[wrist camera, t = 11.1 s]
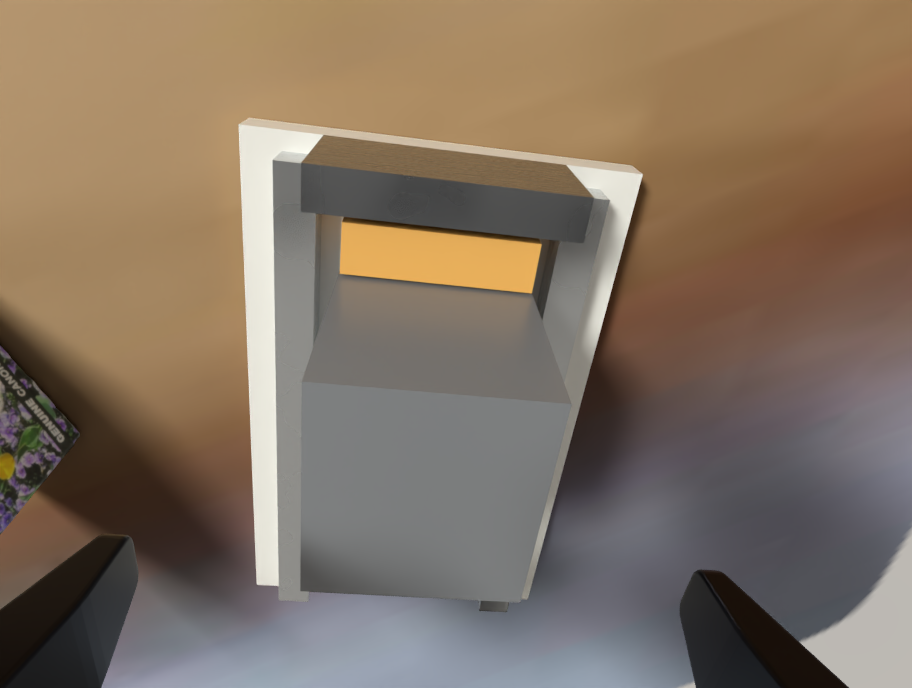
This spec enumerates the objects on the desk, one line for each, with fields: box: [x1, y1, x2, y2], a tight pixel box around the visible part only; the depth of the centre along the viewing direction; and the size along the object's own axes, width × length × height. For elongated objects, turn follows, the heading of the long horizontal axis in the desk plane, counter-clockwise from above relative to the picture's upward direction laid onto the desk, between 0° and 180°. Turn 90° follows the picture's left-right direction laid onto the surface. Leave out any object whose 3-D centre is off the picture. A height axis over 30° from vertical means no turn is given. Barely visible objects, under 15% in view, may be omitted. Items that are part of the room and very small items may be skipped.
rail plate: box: [239, 118, 643, 612], centre depth 18 cm, size 16×10×4 cm, turn 172°
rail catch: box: [340, 217, 542, 293], centre depth 15 cm, size 1×4×2 cm, turn 83°
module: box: [300, 269, 572, 603], centre depth 14 cm, size 5×4×7 cm
